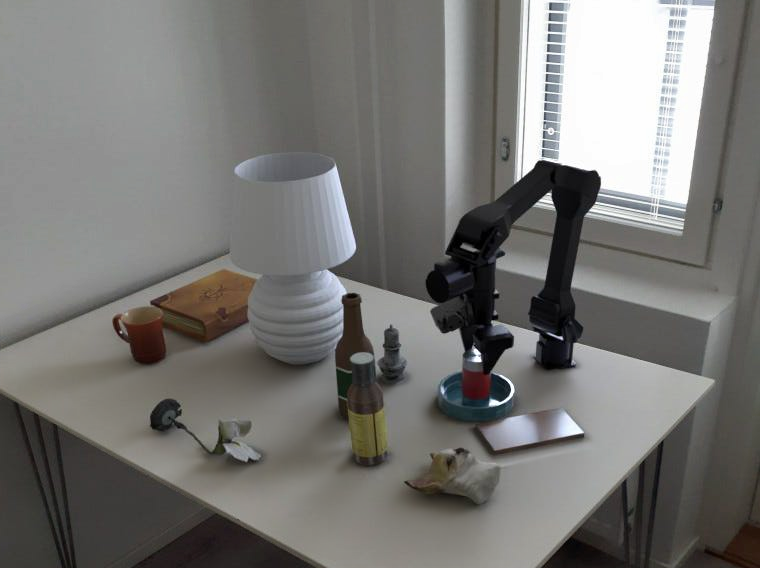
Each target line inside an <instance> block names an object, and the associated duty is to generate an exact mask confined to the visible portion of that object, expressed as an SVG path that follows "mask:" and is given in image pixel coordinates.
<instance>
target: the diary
mask: <svg viewBox="0 0 760 568" xmlns="http://www.w3.org/2000/svg"><path fill="white" fill-rule="evenodd" d="M258 279H259V278H258ZM258 279H257V278H254V277H251V276H248V275H244V274H241V273H239V272H235V271H232V270H229V269H225V268H222V269H220V270H218V271H215V272H213V273H211V274H209V275H206V276H204V277H202V278H199V279H197V280H195V281H193V282H190V283H187V284H186V285H184V286H181V287H178V288H176V289H174V290H172V291H170V292H167V293H165V294H163V295H161V296H159V297H156V298H153V299H151V300H150V301H149V303H150V306H152V307H157V308H159V309H161V310H162V311H163V317H162V328H166V329H168V330H171V331H173V332H176V333H179V334H181V335H184V336H186V337H189V338H191V339H193V340H196V341H199V342H202V343H204V344H207V343H209V342H211V341H213V340H215V339H217V338H219V337H221V336H223V335H225V334H227V333H229V332H231V331H233V330H235V329H237V328H238V327H239V328H240V327H241V326H243V325H245V324H247V323H249V319H248V316H247V313H248V297H249V295H250V293H251V291H252V289H253V287H254V285H255V282H256V281H257V280H258Z"/></svg>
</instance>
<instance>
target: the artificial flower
mask: <svg viewBox="0 0 760 568" xmlns="http://www.w3.org/2000/svg"><path fill="white" fill-rule="evenodd" d="M181 407H182V405H181V404H180V403H179V402H178V401H177V400H176V399H175V398H165V399H163V400H161V401H160V402H158V403H157V404H156V405H155V407H154V408H153V410H151V413H150V415H149V423H150V424H149V427H150V428H151V430H152V431H158V432H159V433H160V432H161V433H164V432H166V430H167V429H170V428H171V427H172V426H174V427H176V428H177V429H179V430H180V429H181V430H184V431H185V432H186V433H187V434H189V436H191V437H192V438H193V439H194V440H195V441H196V442H197V443H198V444H199V446H201V448H202V449H203V450H204V451H205V452H206V454H208V455H209V456H214V455H216V456H217V455H218V456H221V455H224V454H226V453H227V454H229V455H231V456H232V457H233V458H235V459H237V460H240V461H243V462H245V463H248V462H249V459H251V460H253V461H260V458H261V454H260V453H259V452H257V451H255V450H254V449H253V448H252V447H251V446H249V445H248V446H247V445H246V444H245V443H244V442H241V441H238V440H237V439H236V440H234V439H235V438H244V437H245V436H247V435H248V434H249V433H250V432H251V429H253V421H251V420H245V419H244V420H242V419H240V418H236V417H232V418H231V419H230V420H229V421H224V420H220V419H218V425H217V431H218V437H217V442H216V444H215V447H214V449H213V450H212V451H210V450H209V449H208V448H207V447H206V446H205V444H204V443H203V442H202V441H201V440H200V439H199V438H198V437H197V436H196V435H195V434H194V433H193V431H190V430H189V429H188V427H187V426H186V425H185V424H184V423H182V422H180V421H178V420H177V418H178V417H182V414H183V409H182V408H181Z"/></svg>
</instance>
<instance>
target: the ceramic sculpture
mask: <svg viewBox="0 0 760 568" xmlns="http://www.w3.org/2000/svg"><path fill="white" fill-rule="evenodd" d="M429 456H430V458H431V460H432V461H431V463H430V472H429V474H425V475H419V476H417V477H416V478H414V479H411V480H410V479H409V480H403V483H404V485H406V486H408V487H409V488H411V489H412V490H413V491H416V492H418V493H422V494H424V495H432V494H433V495H434V494H442V493H445V494H449V495H450V494H451V495H457V496H463V497H468V498H470V499H471V500H472V501H473V502H474V503H475V504H477V505H481V504H483V503H485V502H487V501H489V500H490V499H491V498H492V496H493V494H494V492H495V490H496V488H497V487H498V485H499V484H500V479H501V470H502V468H501V466H500V465H498V464H497V463H496V462H485V461H479V460H478V459H477V458H476V457H475V455H474V454H473V453H472V451H471V450H470V449H466V448H463V447H457V448H453V447H448V448H445V449H443V450H441V451H439V452H438V453H433V452H430V453H429Z"/></svg>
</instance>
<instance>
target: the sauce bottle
mask: <svg viewBox="0 0 760 568" xmlns="http://www.w3.org/2000/svg"><path fill="white" fill-rule="evenodd" d="M374 357H375V355H374V356H373V355H372V354H370V353H366V352H361V353H356V354H354V355H352V356H351V357H350V367H351V369H352V384H351V386H350V388H349V390H348V393H347V399H348V401H347V405H348V416H349V420H348V425H349V436H350V444H351V451H352V457H353V459H354V461H355V462H357V463H358V464H360V465H362V466H367V467H370V466H375V465H380V464H381V463H383V462H384V461H385V460H386V458H387V456H388V438H387V437H388V436H387V424H386V423H387V422H386V409H385V402H384V392H383V390H382V387H381V386H380V385H379V384H378V382H377V380H376V381H375V375H374V365H375V366H376V361H375V362H374Z"/></svg>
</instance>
